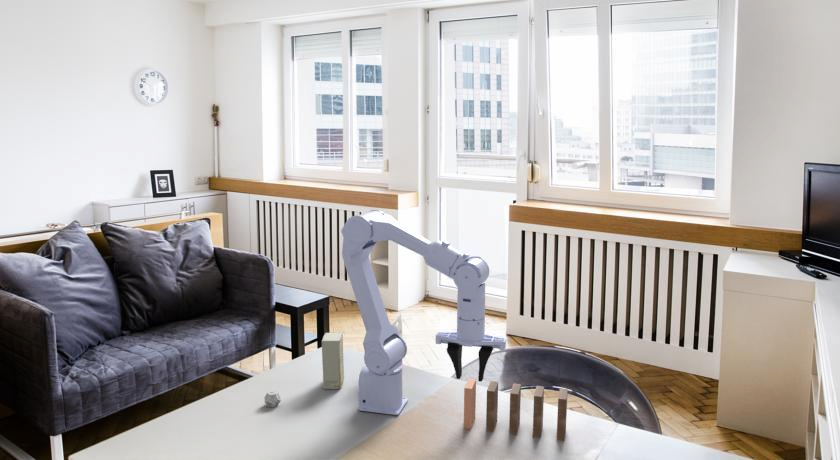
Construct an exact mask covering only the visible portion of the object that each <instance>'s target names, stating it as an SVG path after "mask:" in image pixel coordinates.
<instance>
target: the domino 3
mask: <svg viewBox="0 0 840 460" xmlns="http://www.w3.org/2000/svg"><path fill="white" fill-rule="evenodd" d="M544 397H545V386H543V385H542V386H541V385H536V387H535V391H534V395H533V410H532V411H533V413H532V414H533V416H532V419H533V420H532V438H536V439H537V438H538V439H541V438H542V432H543V426H544V425H543V424H544V423H543V421H544V403H545V401H544Z"/></svg>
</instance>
